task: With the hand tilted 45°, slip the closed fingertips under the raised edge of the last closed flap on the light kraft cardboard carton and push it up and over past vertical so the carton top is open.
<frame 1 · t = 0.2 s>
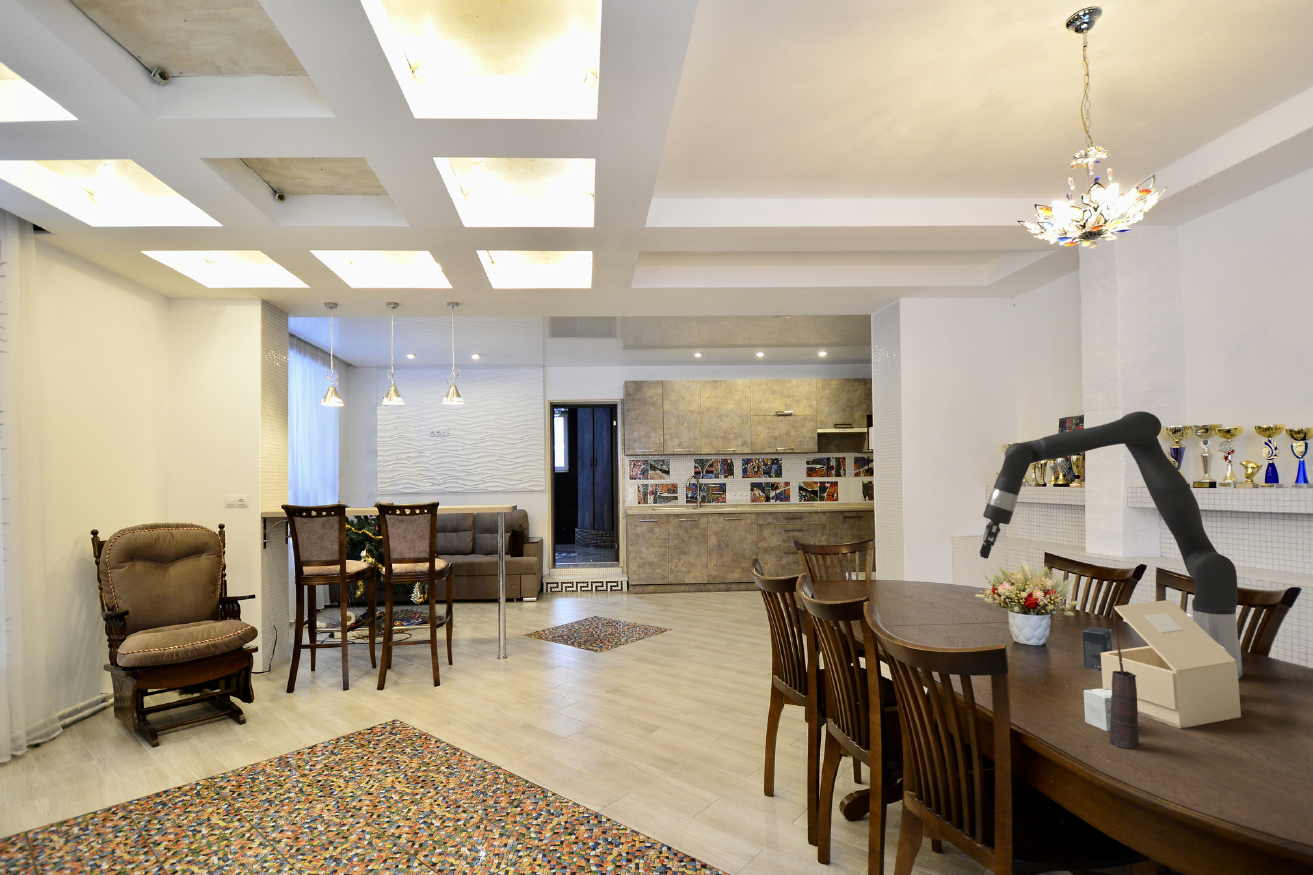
hand: (983, 556, 208), 31 cm above the table, tool tilted 20°, fingers open, 8 cm apart
carton: (1170, 709, 161), on the table
top flap: (1173, 633, 160), point 18 cm above the table, hinge at 40.0°
box: (1099, 667, 196), on the table
supplement box: (1207, 696, 170), on the table
skincare box: (1107, 726, 153), on the table
butter churn: (1129, 746, 141), on the table
candle holder: (1174, 654, 206), on the table
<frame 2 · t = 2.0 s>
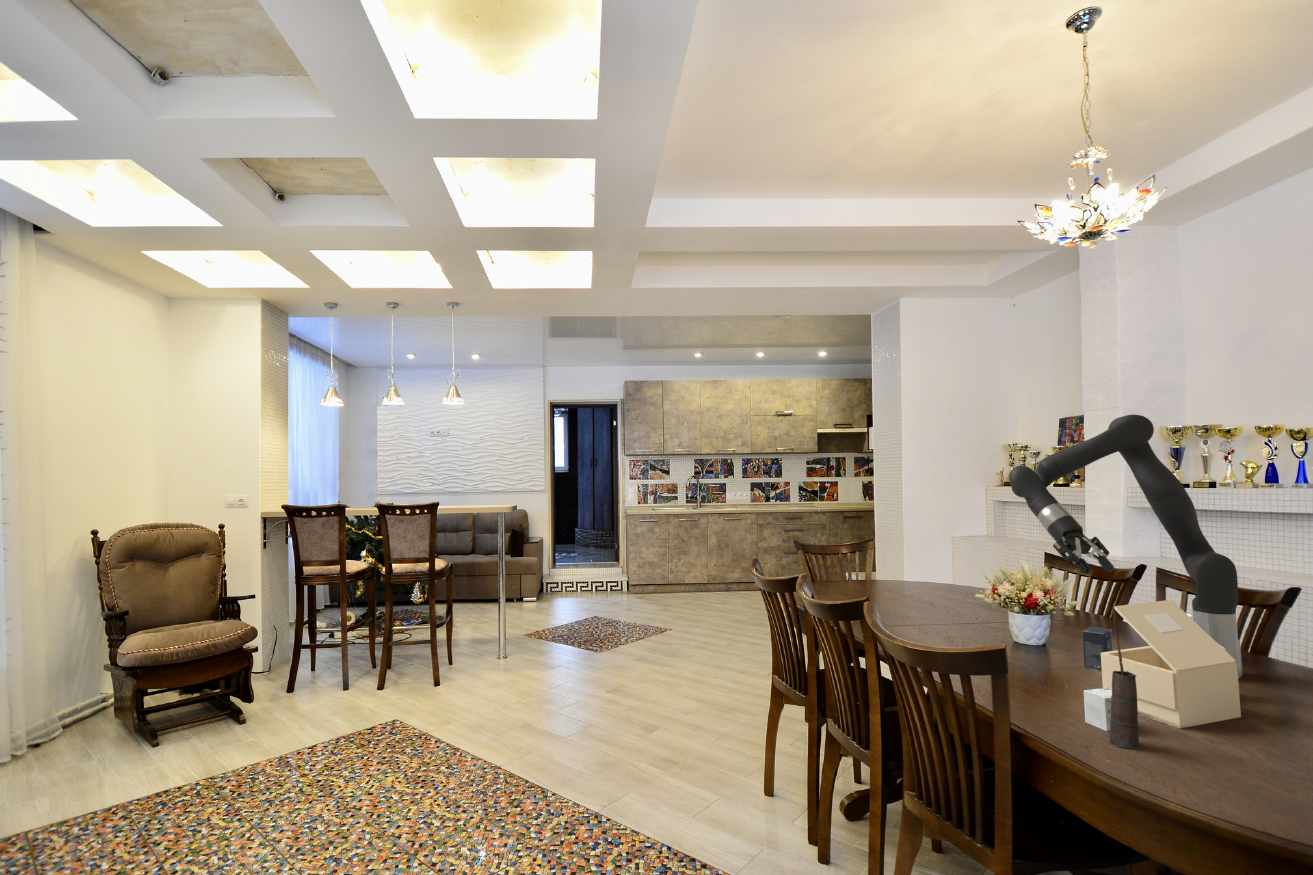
hand: (1100, 571, 178), 30 cm above the table, tool tilted 45°, fingers open, 7 cm apart
nothing on the table moved.
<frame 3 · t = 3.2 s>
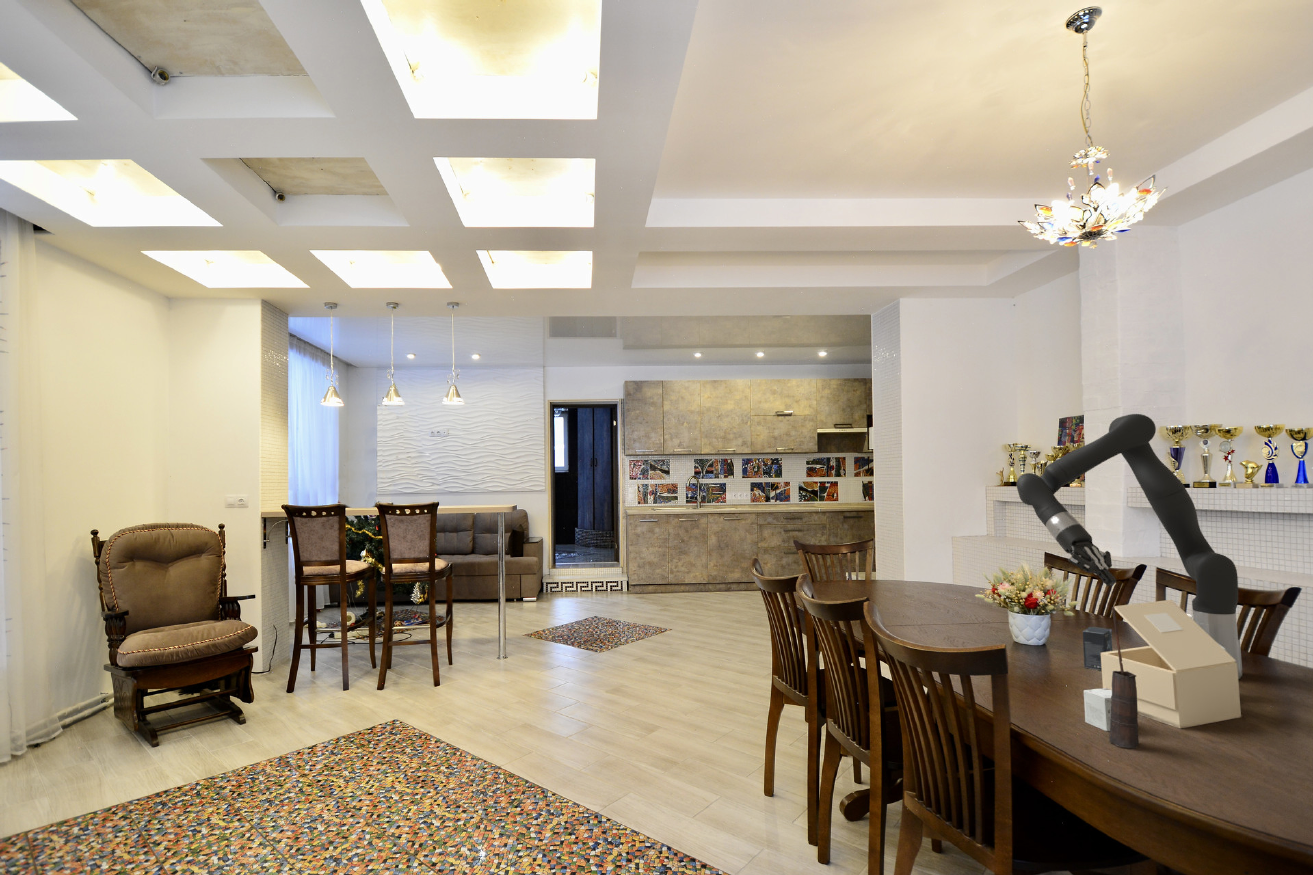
hand: (1112, 583, 175), 28 cm above the table, tool tilted 45°, fingers closed
nothing on the table moved.
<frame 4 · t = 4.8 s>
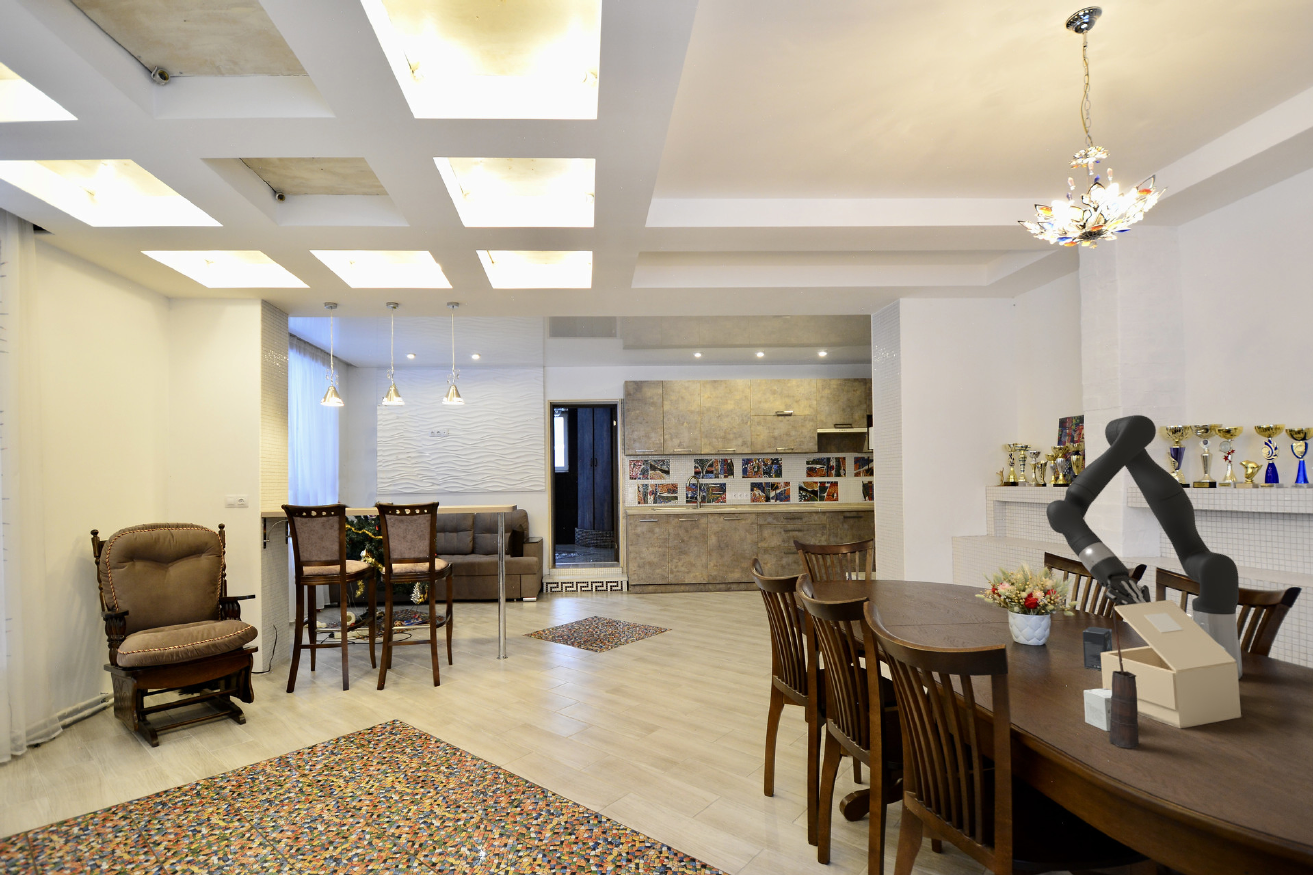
hand: (1152, 621, 165), 20 cm above the table, tool tilted 45°, fingers closed
top flap: (1173, 633, 160), point 18 cm above the table, hinge at 40.0°, touching gripper
everything else where it was.
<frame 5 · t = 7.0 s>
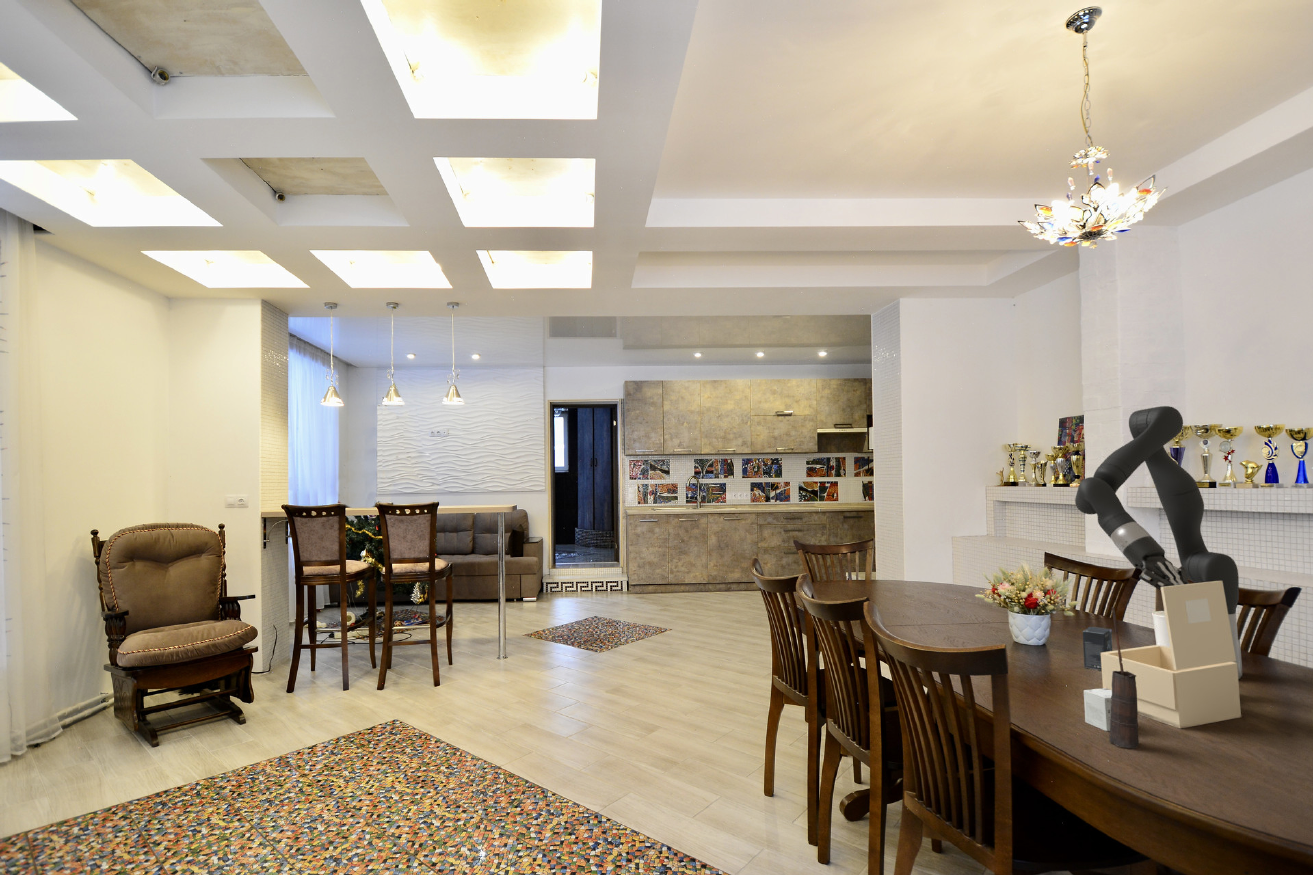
hand: (1190, 604, 156), 26 cm above the table, tool tilted 45°, fingers closed
top flap: (1198, 624, 155), point 22 cm above the table, hinge at 84.7°, touching gripper
everything else where it was.
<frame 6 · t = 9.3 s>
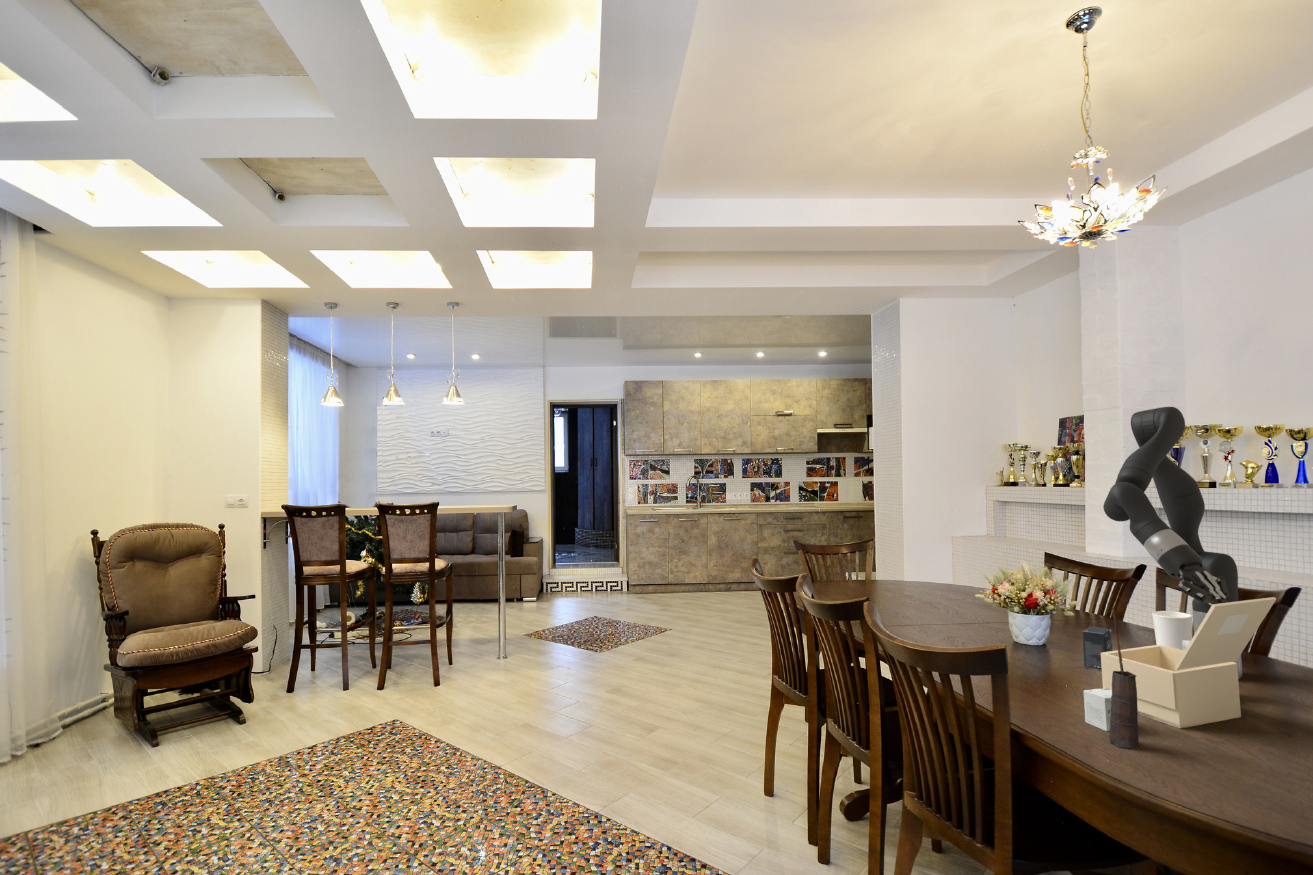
hand: (1232, 616, 148), 25 cm above the table, tool tilted 45°, fingers closed
top flap: (1225, 633, 149), point 21 cm above the table, hinge at 120.2°, touching gripper
everything else where it was.
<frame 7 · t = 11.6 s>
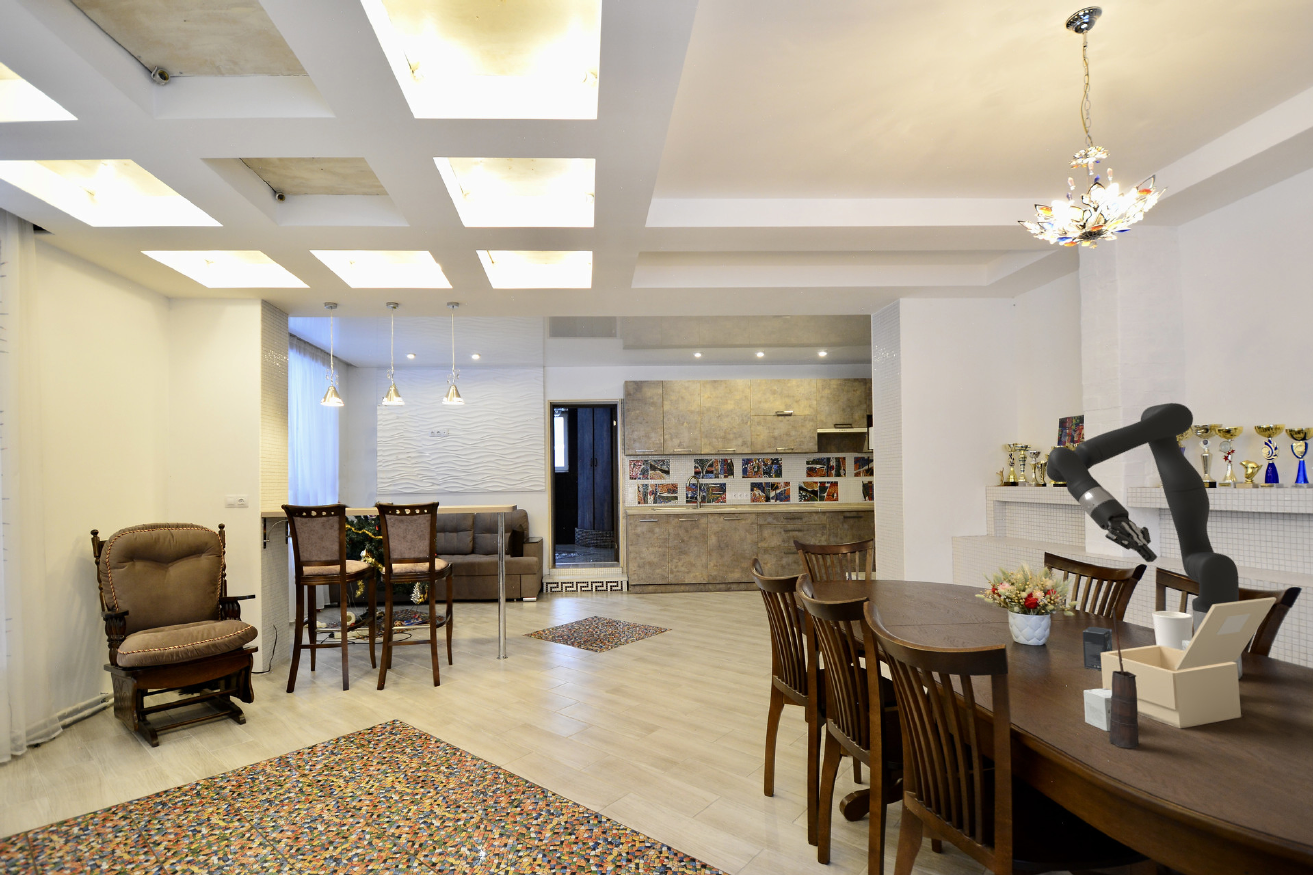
hand: (1152, 559, 167), 35 cm above the table, tool tilted 45°, fingers closed
top flap: (1225, 634, 149), point 21 cm above the table, hinge at 120.2°
everything else where it was.
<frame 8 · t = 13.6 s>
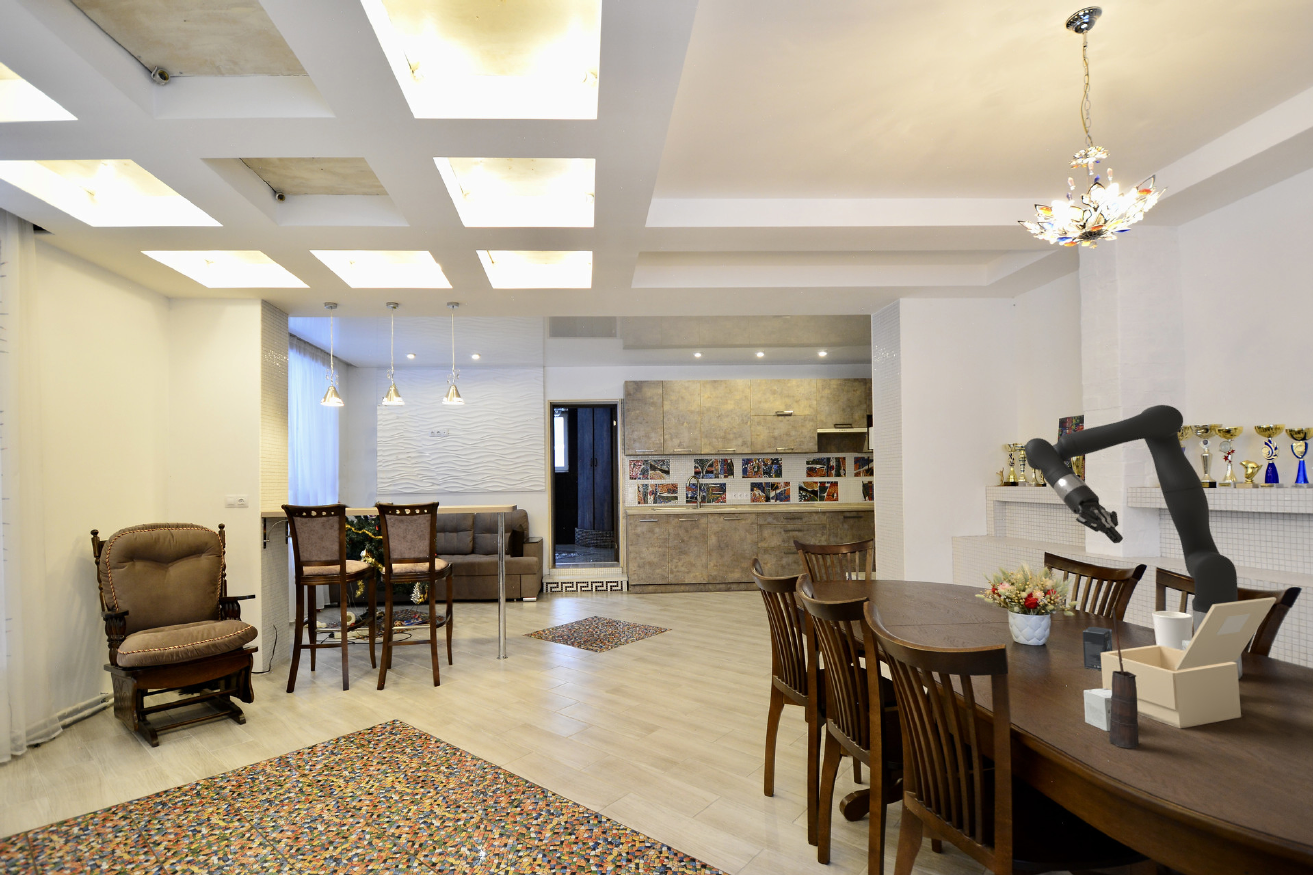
hand: (1119, 541, 180), 38 cm above the table, tool tilted 45°, fingers closed
nothing on the table moved.
at the end: top flap at +120° (first picture: +40°) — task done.
